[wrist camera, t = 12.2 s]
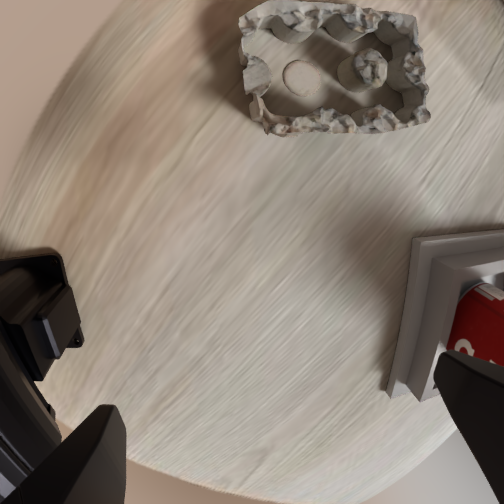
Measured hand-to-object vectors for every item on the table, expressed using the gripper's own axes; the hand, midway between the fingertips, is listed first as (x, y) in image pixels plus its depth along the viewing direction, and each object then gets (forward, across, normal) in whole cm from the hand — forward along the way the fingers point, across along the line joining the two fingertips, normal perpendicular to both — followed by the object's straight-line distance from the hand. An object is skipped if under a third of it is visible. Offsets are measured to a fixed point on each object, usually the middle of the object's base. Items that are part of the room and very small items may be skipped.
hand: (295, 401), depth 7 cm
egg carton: (+12, -6, -10) cm, 17 cm away
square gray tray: (+12, -19, +7) cm, 24 cm away
